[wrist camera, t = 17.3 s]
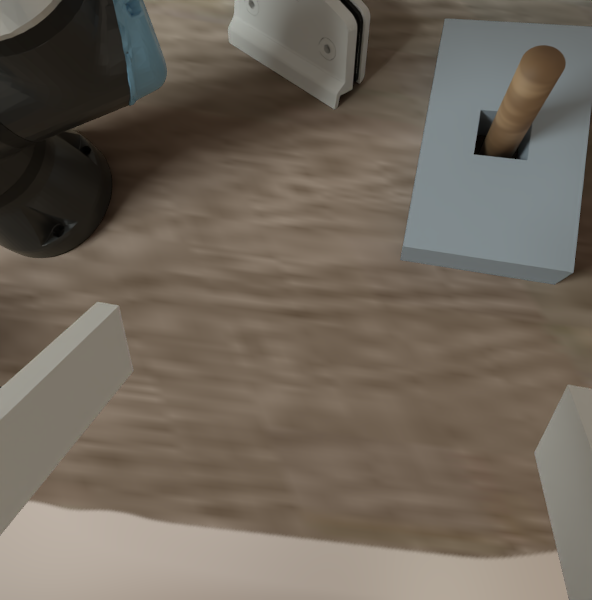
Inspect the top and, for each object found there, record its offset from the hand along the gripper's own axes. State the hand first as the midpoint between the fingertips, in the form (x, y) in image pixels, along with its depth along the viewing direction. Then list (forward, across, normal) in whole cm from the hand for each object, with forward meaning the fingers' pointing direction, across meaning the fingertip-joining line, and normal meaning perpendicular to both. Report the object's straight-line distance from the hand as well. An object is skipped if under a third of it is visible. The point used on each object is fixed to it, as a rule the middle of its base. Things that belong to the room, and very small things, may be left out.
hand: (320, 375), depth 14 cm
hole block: (+39, +10, -3) cm, 40 cm away
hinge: (+47, -12, +4) cm, 49 cm away
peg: (+39, +10, -3) cm, 40 cm away
